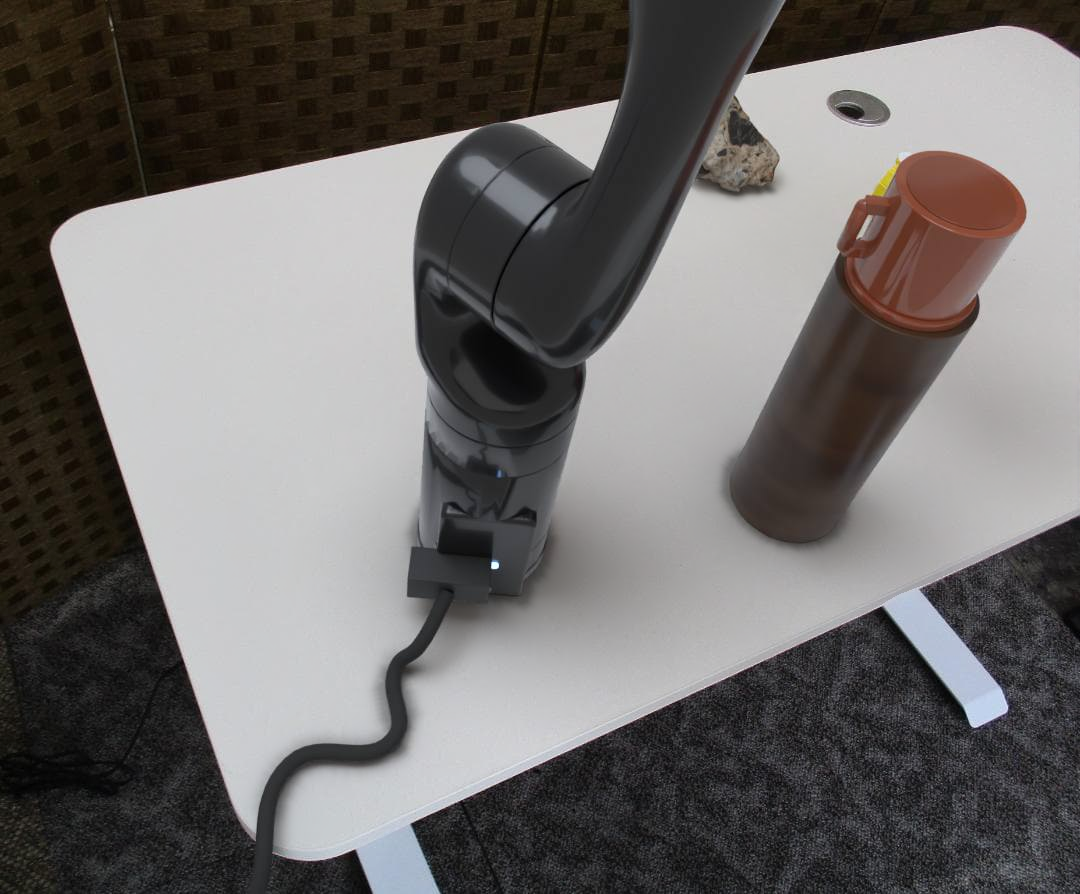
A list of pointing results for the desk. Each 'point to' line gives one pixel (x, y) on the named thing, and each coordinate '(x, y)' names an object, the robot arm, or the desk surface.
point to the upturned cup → (930, 240)
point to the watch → (889, 175)
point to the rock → (739, 153)
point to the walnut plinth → (834, 412)
